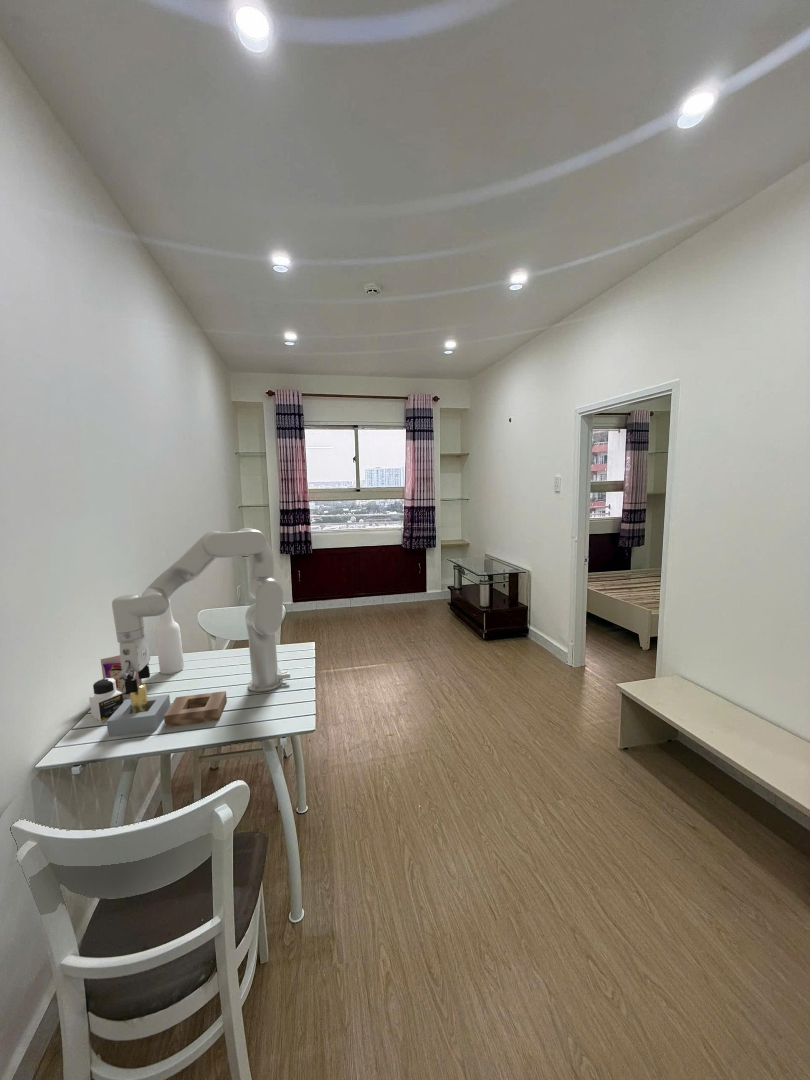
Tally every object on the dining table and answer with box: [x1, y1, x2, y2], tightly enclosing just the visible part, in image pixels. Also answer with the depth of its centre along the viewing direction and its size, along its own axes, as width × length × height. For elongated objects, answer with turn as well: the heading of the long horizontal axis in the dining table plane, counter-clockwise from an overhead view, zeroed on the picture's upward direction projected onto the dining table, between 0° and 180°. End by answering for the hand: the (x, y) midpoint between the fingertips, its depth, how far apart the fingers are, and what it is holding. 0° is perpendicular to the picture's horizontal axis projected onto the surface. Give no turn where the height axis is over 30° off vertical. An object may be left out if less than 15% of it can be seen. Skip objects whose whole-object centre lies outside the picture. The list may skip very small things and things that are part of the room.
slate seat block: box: [105, 693, 171, 737], centre depth 135 cm, size 13×13×5 cm
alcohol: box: [155, 599, 185, 675], centre depth 172 cm, size 9×9×30 cm
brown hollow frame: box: [163, 690, 228, 728], centre depth 139 cm, size 16×12×4 cm
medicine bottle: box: [88, 678, 124, 722], centre depth 140 cm, size 7×7×12 cm
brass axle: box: [130, 682, 149, 713], centre depth 135 cm, size 4×4×10 cm
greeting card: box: [100, 654, 143, 699], centre depth 153 cm, size 11×7×15 cm, turn 90°
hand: (138, 684), depth 134 cm, fingers open, 9 cm apart
